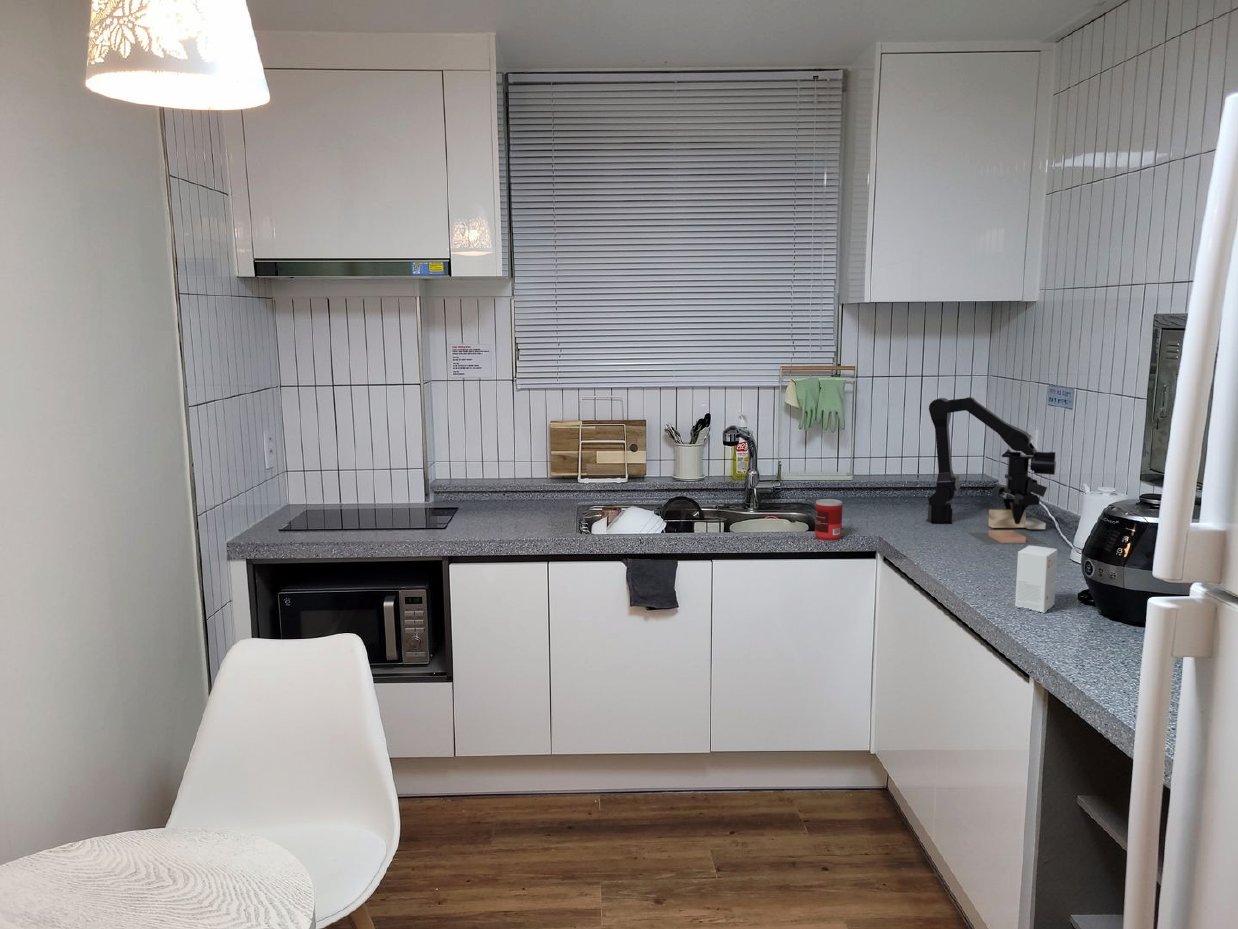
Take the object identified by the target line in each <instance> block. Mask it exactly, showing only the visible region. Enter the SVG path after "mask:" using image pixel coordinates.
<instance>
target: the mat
mask: <svg viewBox="0 0 1238 929" xmlns="http://www.w3.org/2000/svg"><path fill="white" fill-rule="evenodd" d="M1018 533H1019V534H1021V535H1023V536H1025V537H1026V543H1000V542H999V541H997V540H995V539H993V538H991V537H989V536H988V534H989V532H967V534H969V535H970V536H971V537H974V538H976V539H977V540H979V541H980V542H982V543H984V544H986V545H988V546H989V545H990V546H992V545H997V546H998V545H1002V546H1003V545H1047V543H1046V542H1044V541H1042V540H1040V539H1037V538H1036V537H1034V536H1031V535H1030V534H1027V533H1025V532H1024V531H1023V532H1022V531H1021V532H1018Z"/></svg>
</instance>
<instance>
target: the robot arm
mask: <svg viewBox="0 0 1238 929" xmlns="http://www.w3.org/2000/svg"><path fill="white" fill-rule="evenodd" d="M962 411H963V412H964V411H966V412H968V413H969V414H971V415H972V416H973V417H975V418H976V419H977V420H979V421H980V422H982V423H983V424H984V425H986V426H987V427H988V428H990V429H991V430H993V432H995V433H997V434H998V436H1000V438H1001V439H1002V441H1004V443H1006V444H1007V446H1008V447H1009V448H1008V449H1006V450H1005V452H1003V453H1002V454H1001V457H1002V458H1007V460H1008V462H1007V474H1006V473H1005V474H1004V479H1006V485H1004V484H1003V485H1001V484H998V485H996V486H995V487H994V495H996V496H1000V495H1002V496H1001V497H999V500H1000V501H1001V503H1002V504H1003V507H1004V510H1012V514H1013V518H1014V521H1015V524H1019V523H1020V520H1021V518H1022V515H1023V513H1024V511H1026V509H1027V508H1028V507H1030V506H1038V505H1040V500H1041V498H1040V497H1043V498H1044V496H1045V494H1046V492H1047V489H1048V487H1047V486H1045V485H1042V484H1039V483H1038V480H1037V479H1034V478H1032V477H1031V476H1029V469H1030V471H1032V472H1033V474H1036V475H1037V474H1038V475H1053V476H1054V475H1056V468H1057V462H1056V457H1057V456H1056V454H1057V453H1056V451H1038V450H1037V448H1036V447H1035V445H1033V444H1032V439H1031V435H1030V434H1029V432H1027V431H1026V430H1023V429H1021V428H1019V427H1017V426H1015V425H1013V424H1009V423H1008V422H1006V421H1004V420H1003V419H1001V418H1000V417H999V415H996V414H995V413H994V412H992V411H991V410H990V409H988V408H986V407H985V406H984V405H982V404H981V403H980V402H978V401H977V400H976V399H975V398H974V397H972V396H968V397H965V398H954V399H948V398H945V397H939V398H936V399H934V400H932V401H931V402H930V404H929V405H928V412H929V415H930V419H931V422H932V424H933V426H934V431H935V442H936V454H937V456H936V457H937V468H938V472H937V478H936V485H935V493H933V494H932V495H931V496H929V497H928V498H927V501H928V502H927V503H928V504H927V505H928V506H927V507H928V508H927V518H925V521H926V522H927V523H930V524H931V525H953V511H954V510H953V508H952V504H951V503H950V501H951V500H952V499H953V498H954V497H956V495H957V494H958V493H959V489H960V488H961V486H960V481H959V480H960V475H959V474H958V475H955V474H954V471H953V465H952V464H953V462H952V452H951V451H952V450H951V439H950V422H951V418H952V416H951V415H952V413H957V412H962ZM1010 448H1011V450H1010ZM1023 454H1024V455H1023ZM1029 464H1030V468H1029ZM1039 496H1040V497H1039Z"/></svg>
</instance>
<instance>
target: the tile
mask: <svg viewBox="0 0 1238 929" xmlns="http://www.w3.org/2000/svg"><path fill="white" fill-rule="evenodd" d="M988 533H989V534H988V536H989V537H991V538H993V539H995V540H997V541H999V542H1000V543H1026V537H1025V536H1023V535H1021V534H1019V533H1020V532H1018V531H1014V530H1010V529H1007V530H1006V529H1005V530H1004V529H1003V530H988Z"/></svg>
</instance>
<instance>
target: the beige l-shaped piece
mask: <svg viewBox="0 0 1238 929" xmlns="http://www.w3.org/2000/svg"><path fill="white" fill-rule="evenodd" d="M1026 516H1027V511H1026V510H1025V511H1024V513H1023V515H1022V518H1021V520H1020V523H1019V524H1015V521H1014V518H1013V514H1012V510H1006V509H989V510H988V527H990V528H991V529H995V528H996V529H998V528H999V529H1000V528H1002V529H1004V528H1005V529H1006V528H1008V529H1009V528H1012V529H1013V528H1026V529H1028V530H1046V526H1047V524H1046V522H1044V521H1043V520H1042V521H1041V520H1040V519H1038V518H1035V517H1026Z"/></svg>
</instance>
